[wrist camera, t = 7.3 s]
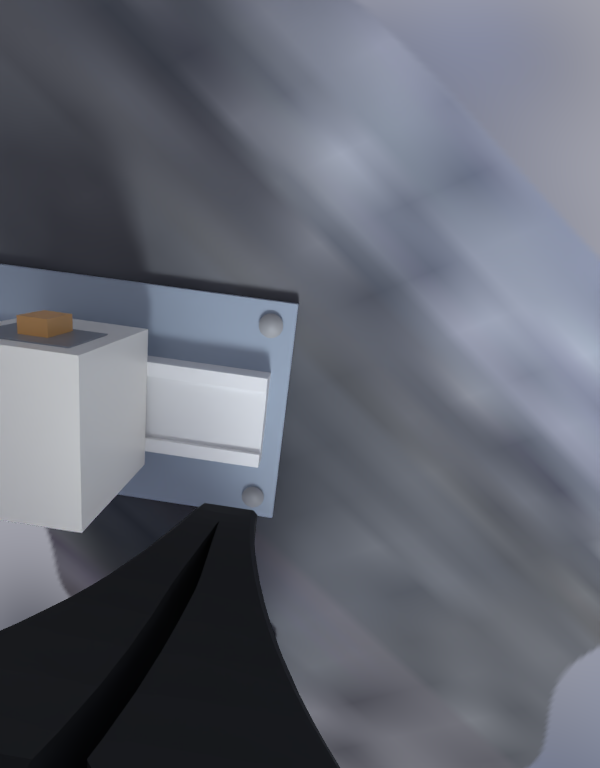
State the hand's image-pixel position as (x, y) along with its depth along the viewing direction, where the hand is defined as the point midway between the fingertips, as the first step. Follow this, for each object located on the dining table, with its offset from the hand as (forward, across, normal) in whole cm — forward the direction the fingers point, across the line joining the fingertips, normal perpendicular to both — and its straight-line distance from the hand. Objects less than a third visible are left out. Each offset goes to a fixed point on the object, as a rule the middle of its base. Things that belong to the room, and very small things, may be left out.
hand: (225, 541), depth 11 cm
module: (+8, +8, 0) cm, 11 cm away
